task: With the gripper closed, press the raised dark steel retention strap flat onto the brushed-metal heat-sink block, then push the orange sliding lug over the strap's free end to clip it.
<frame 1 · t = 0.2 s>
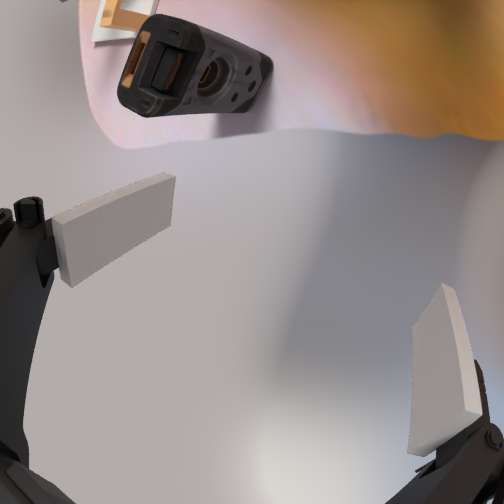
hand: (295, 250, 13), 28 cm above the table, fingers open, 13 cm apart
lug: (128, 11, 31), point 5 cm above the table, slide at 0.0 cm
electronic device: (245, 80, 36), on the table
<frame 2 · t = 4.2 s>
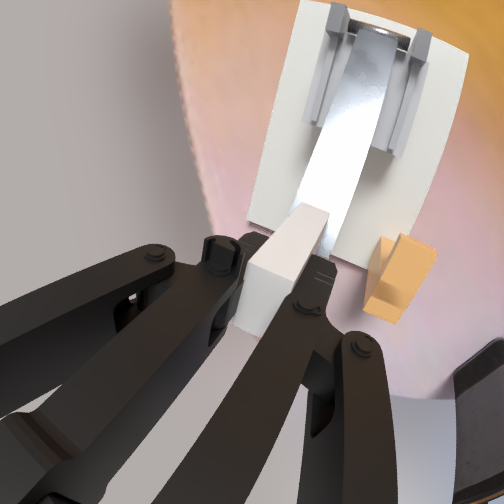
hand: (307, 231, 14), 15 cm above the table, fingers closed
board: (356, 134, 24), on the table
lug: (397, 258, 22), point 5 cm above the table, slide at 0.0 cm
electronic device: (484, 362, 27), on the table
strap: (353, 116, 15), point 10 cm above the table, hinge at 28.3°, touching gripper
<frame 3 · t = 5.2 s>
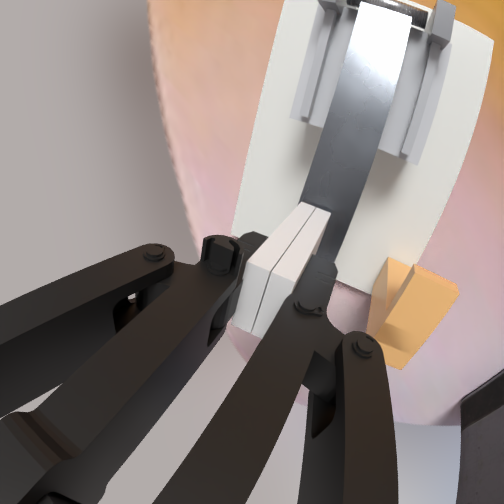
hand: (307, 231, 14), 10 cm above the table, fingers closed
board: (360, 134, 20), on the table
lug: (407, 289, 18), point 5 cm above the table, slide at 0.0 cm
electronic device: (494, 389, 23), on the table
strap: (355, 124, 13), point 8 cm above the table, hinge at 10.7°, touching gripper
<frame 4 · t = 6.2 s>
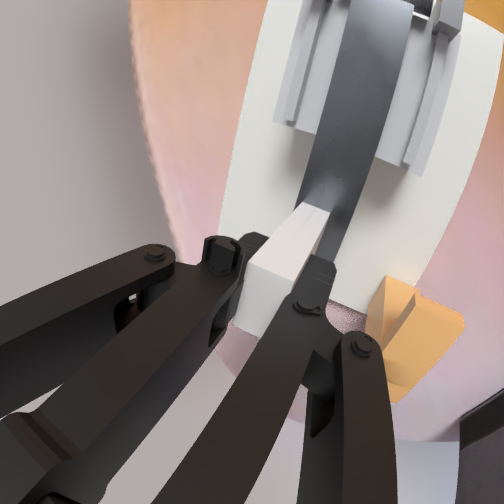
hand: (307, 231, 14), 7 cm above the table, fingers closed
board: (355, 138, 18), on the table
lug: (406, 314, 16), point 5 cm above the table, slide at 0.0 cm
electronic device: (495, 406, 21), on the table
strap: (350, 131, 12), point 7 cm above the table, hinge at 0.4°, touching gripper
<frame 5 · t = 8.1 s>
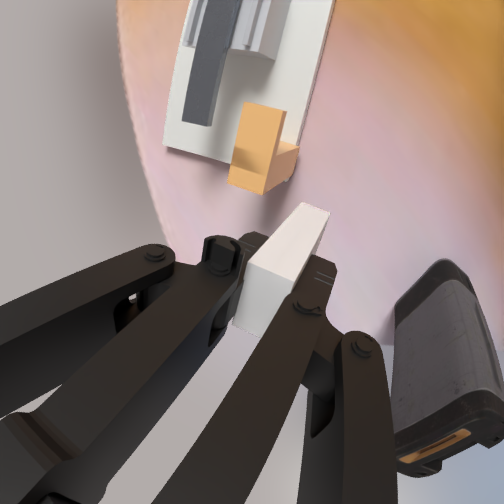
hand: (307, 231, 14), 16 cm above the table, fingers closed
board: (244, 57, 26), on the table
lug: (272, 143, 24), point 5 cm above the table, slide at 0.0 cm
electronic device: (432, 294, 29), on the table
strap: (214, 37, 20), point 7 cm above the table, hinge at 0.3°
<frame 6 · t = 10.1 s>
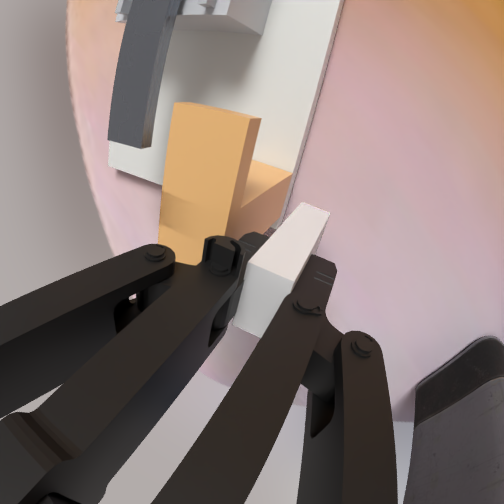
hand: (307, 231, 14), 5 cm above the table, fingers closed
board: (215, 34, 16), on the table
lug: (241, 174, 14), point 5 cm above the table, slide at 0.5 cm, touching gripper
electronic device: (464, 372, 19), on the table
strap: (155, 0, 10), point 7 cm above the table, hinge at 0.3°
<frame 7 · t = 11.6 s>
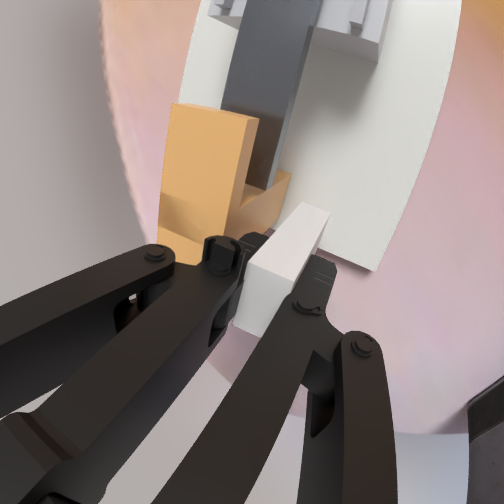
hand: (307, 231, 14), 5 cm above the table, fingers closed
board: (313, 49, 14), on the table
lug: (240, 174, 14), point 5 cm above the table, slide at 7.5 cm, touching gripper
strap: (283, 0, 8), point 7 cm above the table, hinge at 0.3°
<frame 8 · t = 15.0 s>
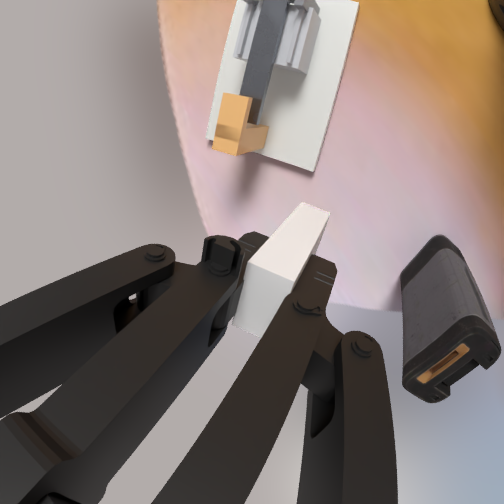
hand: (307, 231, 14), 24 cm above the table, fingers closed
board: (279, 69, 32), on the table
lug: (245, 122, 32), point 5 cm above the table, slide at 7.6 cm
electronic device: (430, 265, 35), on the table
strap: (262, 54, 27), point 7 cm above the table, hinge at 0.3°
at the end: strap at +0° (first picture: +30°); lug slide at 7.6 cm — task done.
